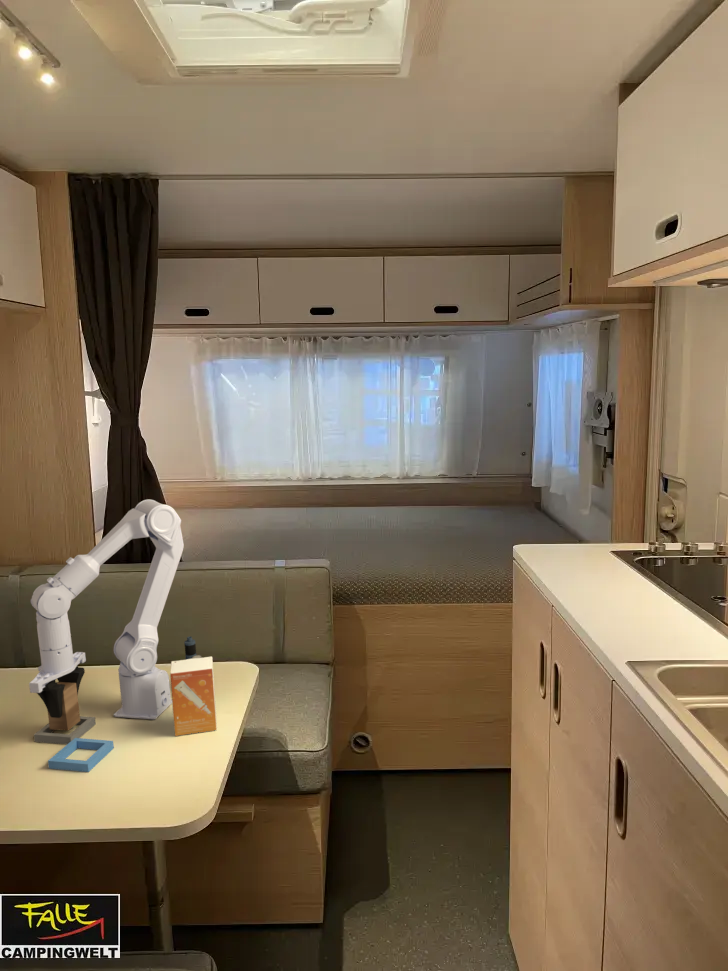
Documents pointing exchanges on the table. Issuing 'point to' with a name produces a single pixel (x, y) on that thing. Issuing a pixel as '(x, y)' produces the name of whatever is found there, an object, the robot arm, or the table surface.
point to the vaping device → (190, 649)
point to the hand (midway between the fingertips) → (63, 711)
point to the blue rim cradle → (79, 765)
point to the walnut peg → (67, 709)
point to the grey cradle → (49, 737)
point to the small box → (193, 695)
